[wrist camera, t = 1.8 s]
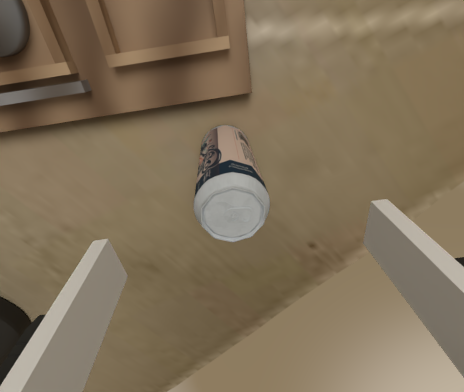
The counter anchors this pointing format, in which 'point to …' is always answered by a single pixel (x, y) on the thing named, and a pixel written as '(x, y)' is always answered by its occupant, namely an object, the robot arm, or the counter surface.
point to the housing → (116, 57)
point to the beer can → (229, 186)
